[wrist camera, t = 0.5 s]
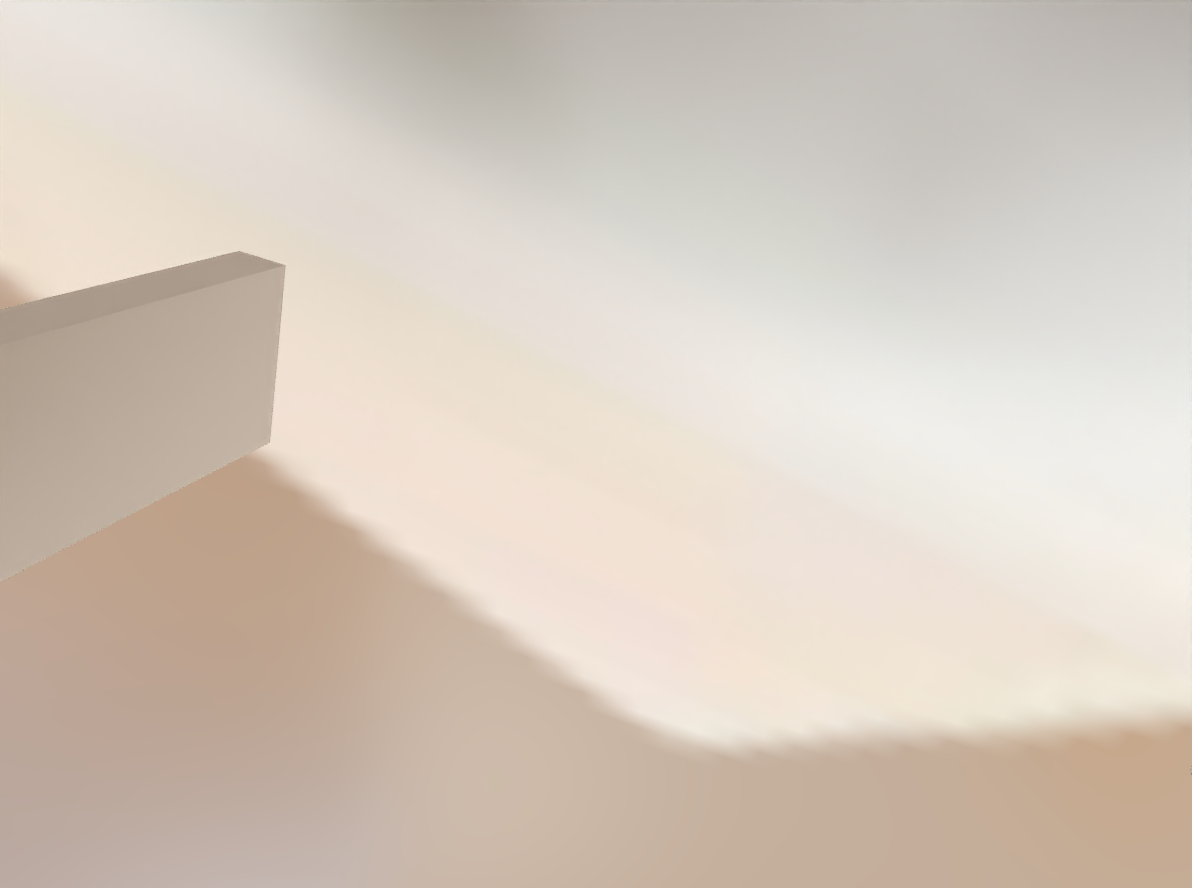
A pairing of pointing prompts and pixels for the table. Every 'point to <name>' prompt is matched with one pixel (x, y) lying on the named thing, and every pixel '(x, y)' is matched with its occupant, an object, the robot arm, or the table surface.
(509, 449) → the table surface
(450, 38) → the table surface
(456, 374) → the table surface
